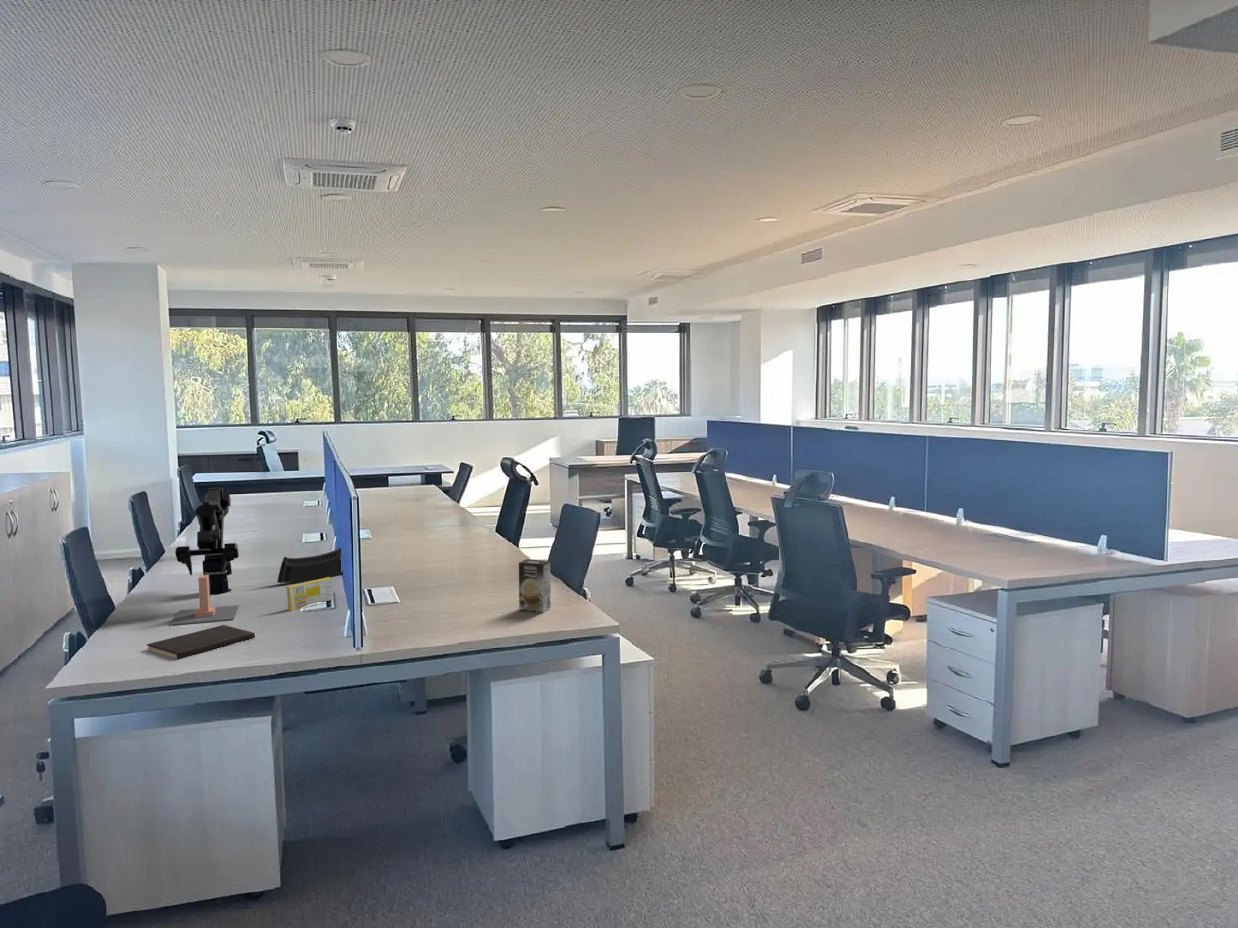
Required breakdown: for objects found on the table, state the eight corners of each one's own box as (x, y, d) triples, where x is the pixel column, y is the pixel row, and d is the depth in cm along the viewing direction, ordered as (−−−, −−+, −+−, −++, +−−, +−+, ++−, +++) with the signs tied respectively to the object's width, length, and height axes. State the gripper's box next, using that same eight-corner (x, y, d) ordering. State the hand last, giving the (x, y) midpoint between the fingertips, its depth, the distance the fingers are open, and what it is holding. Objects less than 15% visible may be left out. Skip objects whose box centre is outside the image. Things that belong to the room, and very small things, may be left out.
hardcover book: (147, 652, 237) (146, 644, 236) (224, 632, 256) (223, 624, 255) (177, 661, 228) (176, 653, 228) (255, 640, 247) (254, 632, 246)
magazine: (273, 563, 311) (344, 530, 331) (269, 562, 313) (339, 529, 334) (288, 604, 316) (356, 569, 336) (284, 603, 318) (352, 568, 339)
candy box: (329, 600, 292) (328, 576, 291) (333, 601, 291) (332, 577, 290) (287, 610, 279) (286, 585, 278) (291, 611, 278) (290, 586, 277)
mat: (179, 611, 278) (179, 610, 278) (238, 606, 284) (238, 605, 284) (169, 625, 261) (169, 624, 261) (233, 619, 267) (233, 618, 267)
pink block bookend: (198, 612, 275) (195, 575, 274) (215, 611, 276) (213, 573, 275) (195, 617, 269) (193, 579, 268) (213, 615, 270) (211, 577, 269)
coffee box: (518, 610, 275) (517, 562, 273) (526, 606, 281) (525, 558, 279) (543, 613, 272) (543, 564, 270) (551, 608, 278) (551, 560, 276)
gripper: (174, 522, 278) (170, 562, 269) (236, 519, 284) (234, 557, 275) (179, 542, 286) (176, 581, 277) (239, 538, 292) (238, 576, 283)
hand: (206, 573), depth 278 cm, fingers open, 9 cm apart
